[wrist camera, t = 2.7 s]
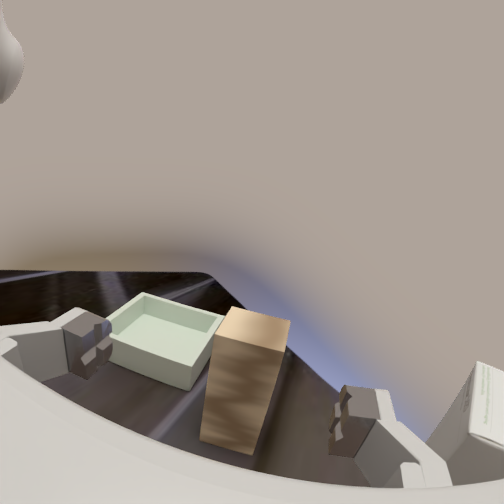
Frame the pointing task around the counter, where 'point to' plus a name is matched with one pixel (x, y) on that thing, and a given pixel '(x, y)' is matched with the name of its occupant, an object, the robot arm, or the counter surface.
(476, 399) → the skincare box
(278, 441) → the counter surface
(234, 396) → the oak block
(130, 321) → the dish
